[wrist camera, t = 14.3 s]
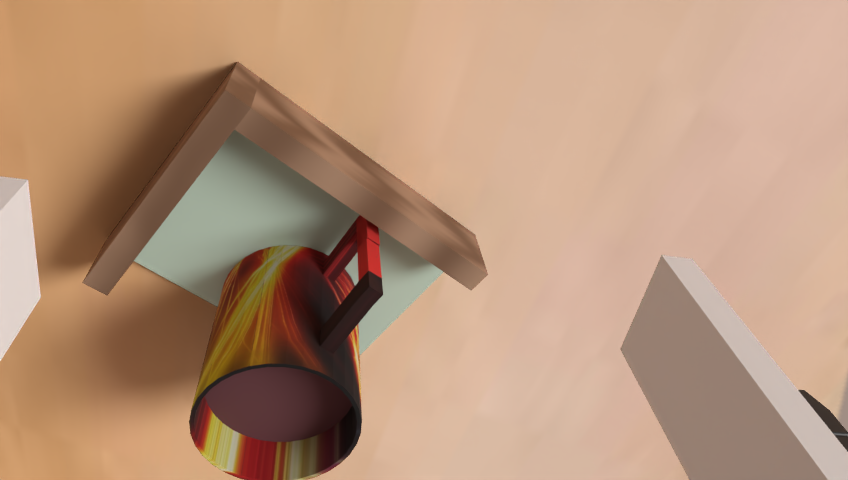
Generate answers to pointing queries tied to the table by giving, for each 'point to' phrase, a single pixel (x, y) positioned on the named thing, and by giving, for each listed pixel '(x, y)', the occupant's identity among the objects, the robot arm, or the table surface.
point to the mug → (287, 360)
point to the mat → (270, 231)
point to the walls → (306, 154)
